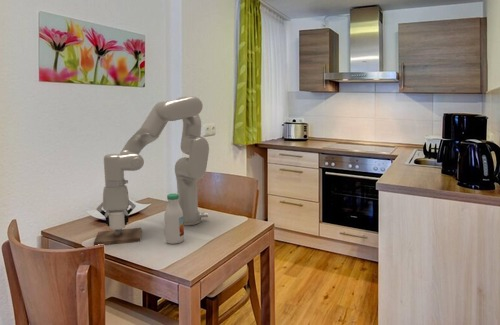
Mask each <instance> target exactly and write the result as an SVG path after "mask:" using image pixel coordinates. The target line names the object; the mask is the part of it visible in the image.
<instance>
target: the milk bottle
mask: <svg viewBox="0 0 500 325" xmlns="http://www.w3.org/2000/svg"><path fill="white" fill-rule="evenodd" d="M166 196H167V197H166V199H167V202H168V203H167V205H166V208H165V210H164V214H163V215H164V238H165V239H164V240H165V243H167V244H171V245H172V244H173V245H174V244H180V243H182V242H184V240H185V230H184V229H185V228H184V227H185V226H184V223H183V212H182V209H181V207H180V205H179V202H178V200H179V195H178V194H177V193H169V194H167V195H166Z"/></svg>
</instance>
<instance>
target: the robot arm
mask: <svg viewBox="0 0 500 325" xmlns="http://www.w3.org/2000/svg"><path fill="white" fill-rule="evenodd" d="M203 107H204V106H203V102H202V100H201V99H200V98H199V97H196V96H181V97H177V98H176V99H175V100H169V101H168V100H166V101H163V100H162V101H159V102H157V103H156V104H154V106H153V107H152V109H151V110H150V112H149V113H148V116H147V117H146V119H145V120H144V122H143V123H142V124H141V126H140V128H139V129H138V130H137V131H136V132H135V133H134V134H133V135H132V136H131V137H130V138H129V140H127V141H126V143H125V145H124V146H123V148H122V150H121V151H120V153H110V154H106V155H103V156H104V157H103V167H104V168H103V170H104V183H105V184H104V187H103V190H102V193H103V194H102V202H100V204H99V205H98V206H97V207H96V211H97V212H99V213H100V214H101V215H102V216H103V217H104V218H105V224H106V225H107V227H109V211H116V210H123V211H124V213H125V216H124V219H125V225H126V226H127V224H128V223H129V215H130V214H131V212H132V211H134V210H135V208H136V204H135V203H133V202H132V200H130V199H129V198H130V196H129V191H128V186H127V185H126V184H129V180H127V179H125V173H124V172H126V171H127V172H129V171H130V172H132V171H133V172H136V171H139V170H141V169H142V168H143V166H144V163H145V160H144V158H143V156H142V155H140V153H141V152H142V151H143V149H144V148H145V147H146V146H148V145H149V144H151V143H153V142H154V141H156V140H158V139H159V137H160V136H161V133H162V132H163V131H164V128H165V127H166V126H167V124H168V122H175V121H179V120H182V124H183V126H182V134H181V140H180V150H181V152H182V153H183V154H185V155H188V157H186V156H185V157H180V158H178V159H177V160H176V162H175V164H174V173H175V174H174V175H175V180H176V188H177V189H176V190H177V191H176V192H177V193H176V194H178V195H179V200H178V202H179V205H180V207H181V209H182V212H183V223H184V227H185V226H195V225H198V224H200V223H202V218H208V214H209V213H208V212H200V211H199V204H198V199H199V198H198V182H197V181H199V180H201V179H203V177H204V176H205V175H206V172H207V165H208V160H209V153H210V146H209V141H208V139H206V138H205V137H204V136H201V134H202V119H201V117H200V113H201V112H202V110H203ZM129 206H130V208H129ZM102 208H103V209H102Z"/></svg>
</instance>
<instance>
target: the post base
mask: <svg viewBox="0 0 500 325" xmlns="http://www.w3.org/2000/svg"><path fill="white" fill-rule="evenodd" d="M141 237H142V227H134V228H122V229H117V230H113V229H110V230H102V231H101V230H99V231H97V234H96V236H95V239H94V241H93V246H94V245H98V244H105V245H104V246H108V245H109V244H110V245H117V244H119V245H120V244H128V243H135V242H136V243H137V242H138V241H139V242H141V240H142V239H141Z"/></svg>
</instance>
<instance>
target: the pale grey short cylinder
mask: <svg viewBox="0 0 500 325" xmlns="http://www.w3.org/2000/svg"><path fill="white" fill-rule="evenodd" d="M124 216H125V213H124V211H123V210H116V211H109V226H108V228H109V230H117V229H126V226H127V225H125V219H124Z"/></svg>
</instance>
